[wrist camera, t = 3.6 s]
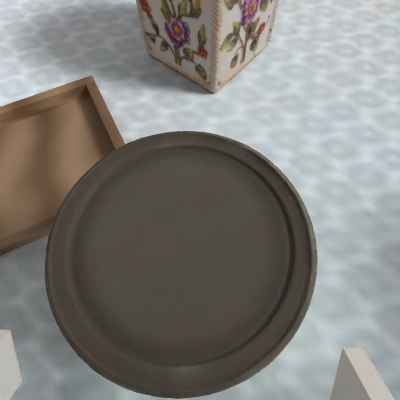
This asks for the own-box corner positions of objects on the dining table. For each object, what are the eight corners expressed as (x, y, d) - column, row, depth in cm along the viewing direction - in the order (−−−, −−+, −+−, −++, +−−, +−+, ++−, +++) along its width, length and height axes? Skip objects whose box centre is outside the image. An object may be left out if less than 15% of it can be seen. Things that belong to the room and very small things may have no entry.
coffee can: (195, 395, 20) (177, 496, 7) (106, 292, 23) (-10, 240, 11) (281, 288, 23) (373, 231, 11) (193, 210, 27) (182, 95, 14)
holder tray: (99, 92, 33) (91, 75, 31) (146, 191, 27) (141, 178, 25) (-33, 139, 31) (-51, 124, 28) (-11, 260, 25) (-32, 253, 23)
